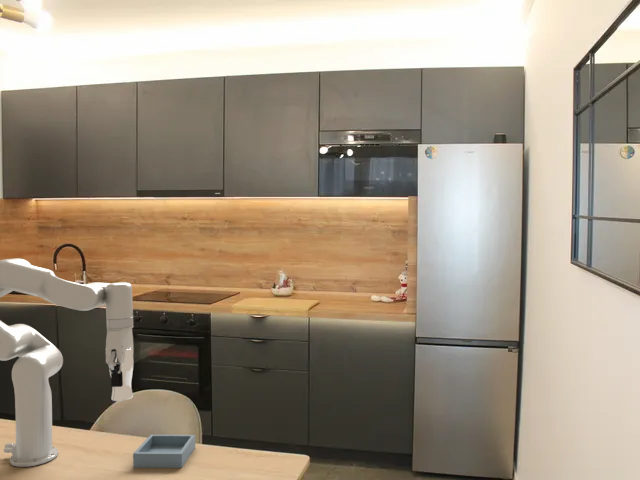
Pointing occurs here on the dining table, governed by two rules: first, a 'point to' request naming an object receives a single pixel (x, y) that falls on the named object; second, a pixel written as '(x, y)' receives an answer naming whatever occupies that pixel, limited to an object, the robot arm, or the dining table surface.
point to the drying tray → (164, 451)
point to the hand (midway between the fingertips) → (121, 382)
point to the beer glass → (124, 378)
